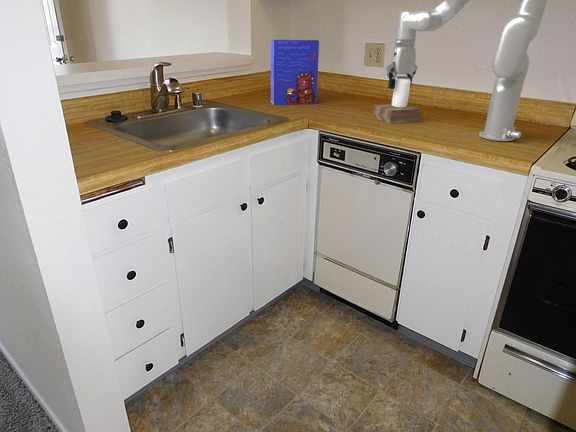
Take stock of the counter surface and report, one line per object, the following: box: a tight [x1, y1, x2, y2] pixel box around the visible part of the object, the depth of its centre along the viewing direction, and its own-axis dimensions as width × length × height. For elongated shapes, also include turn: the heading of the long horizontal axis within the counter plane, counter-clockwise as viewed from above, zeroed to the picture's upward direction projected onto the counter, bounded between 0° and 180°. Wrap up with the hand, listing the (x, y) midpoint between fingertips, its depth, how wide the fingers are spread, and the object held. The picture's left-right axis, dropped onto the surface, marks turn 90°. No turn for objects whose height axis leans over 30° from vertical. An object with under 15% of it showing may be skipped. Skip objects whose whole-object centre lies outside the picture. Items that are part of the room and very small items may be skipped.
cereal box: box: [270, 39, 320, 106], centre depth 210 cm, size 22×6×30 cm, turn 105°
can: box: [391, 75, 411, 108], centre depth 183 cm, size 6×6×12 cm
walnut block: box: [372, 103, 421, 125], centre depth 187 cm, size 14×14×6 cm
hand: (399, 87), depth 183 cm, fingers open, 9 cm apart
